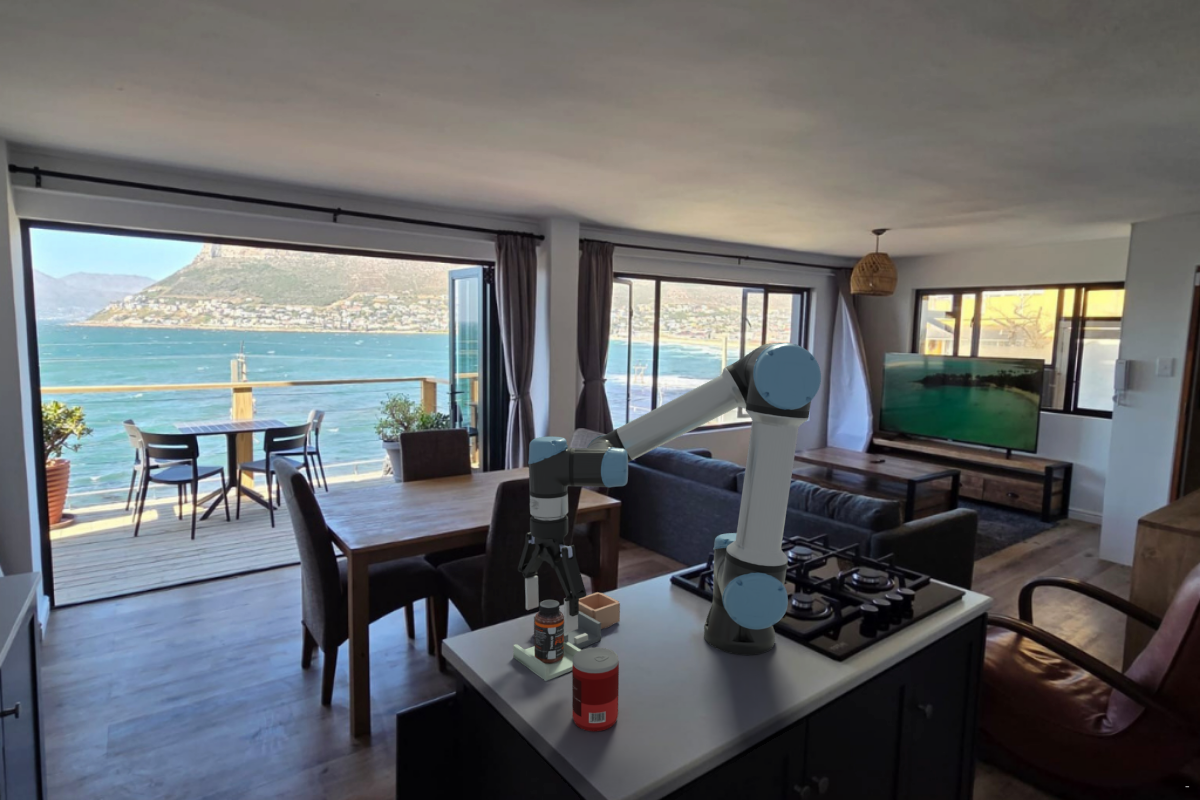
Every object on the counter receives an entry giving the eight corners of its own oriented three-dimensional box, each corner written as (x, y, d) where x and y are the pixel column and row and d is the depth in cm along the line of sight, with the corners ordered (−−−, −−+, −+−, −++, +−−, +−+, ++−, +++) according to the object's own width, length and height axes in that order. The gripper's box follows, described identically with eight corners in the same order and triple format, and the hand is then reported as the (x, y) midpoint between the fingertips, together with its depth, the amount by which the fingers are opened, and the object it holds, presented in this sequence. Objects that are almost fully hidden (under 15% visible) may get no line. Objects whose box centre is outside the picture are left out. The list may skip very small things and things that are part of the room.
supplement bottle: (559, 666, 124) (560, 610, 123) (530, 663, 125) (530, 608, 124) (567, 651, 130) (567, 598, 129) (539, 648, 131) (538, 596, 130)
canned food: (627, 717, 109) (628, 656, 108) (596, 739, 103) (596, 674, 102) (594, 700, 114) (594, 642, 113) (563, 720, 108) (563, 658, 107)
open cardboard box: (620, 622, 145) (621, 602, 145) (594, 632, 140) (594, 611, 140) (598, 611, 151) (599, 591, 151) (572, 620, 146) (572, 600, 146)
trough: (585, 665, 126) (585, 652, 126) (545, 681, 120) (545, 668, 120) (551, 643, 135) (551, 631, 135) (513, 657, 129) (513, 645, 129)
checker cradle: (600, 640, 137) (600, 622, 136) (565, 654, 130) (565, 635, 130) (568, 621, 145) (568, 605, 145) (533, 634, 139) (533, 616, 139)
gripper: (500, 506, 132) (502, 604, 134) (571, 533, 113) (573, 647, 115) (530, 500, 137) (532, 594, 139) (604, 525, 118) (605, 634, 120)
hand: (550, 618), depth 127 cm, fingers open, 13 cm apart
